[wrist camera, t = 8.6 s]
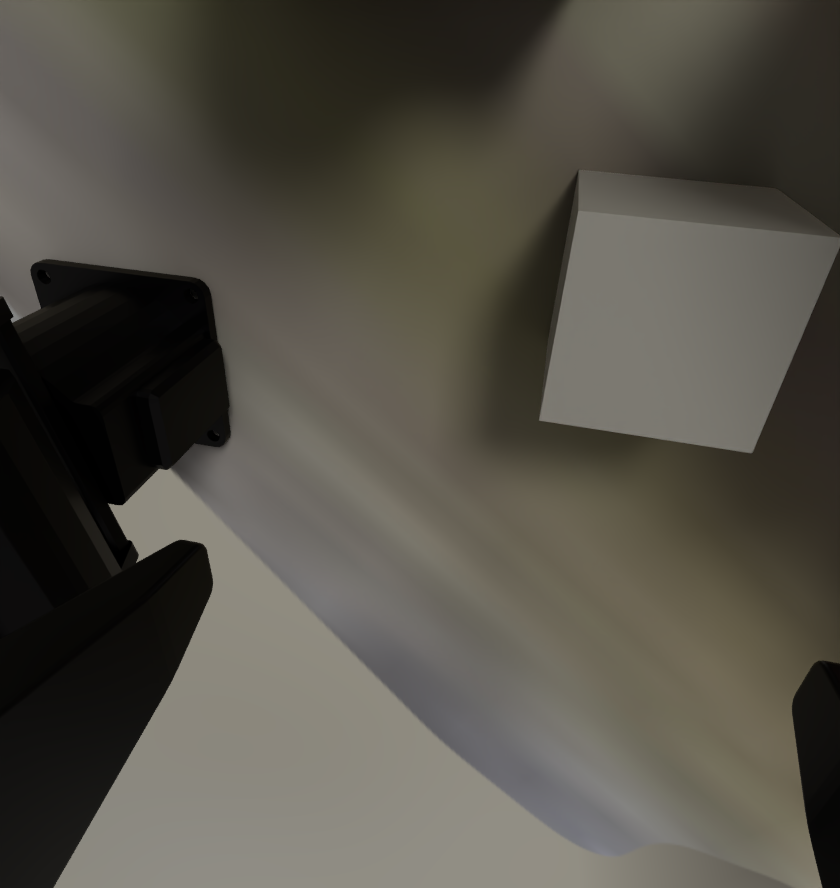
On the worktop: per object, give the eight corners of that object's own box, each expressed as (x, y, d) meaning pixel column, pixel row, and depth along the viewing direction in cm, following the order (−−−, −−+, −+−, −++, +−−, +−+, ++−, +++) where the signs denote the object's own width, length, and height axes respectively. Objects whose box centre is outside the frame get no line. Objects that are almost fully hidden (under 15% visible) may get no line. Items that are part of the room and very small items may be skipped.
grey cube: (547, 340, 19) (539, 420, 15) (579, 169, 17) (578, 210, 13) (714, 363, 19) (752, 453, 15) (775, 187, 16) (843, 238, 12)
